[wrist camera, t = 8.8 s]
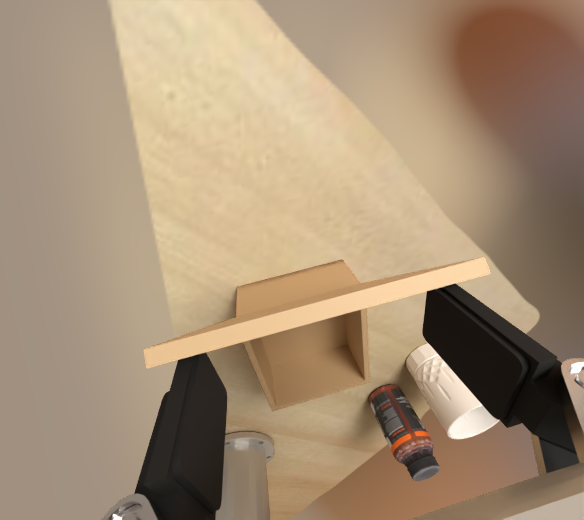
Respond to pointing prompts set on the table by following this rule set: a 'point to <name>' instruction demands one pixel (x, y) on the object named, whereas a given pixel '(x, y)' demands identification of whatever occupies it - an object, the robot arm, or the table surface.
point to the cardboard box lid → (312, 310)
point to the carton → (307, 338)
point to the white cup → (448, 395)
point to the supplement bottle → (404, 432)
